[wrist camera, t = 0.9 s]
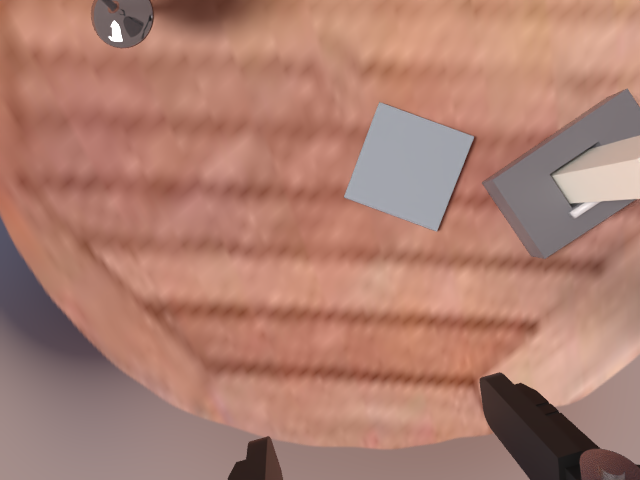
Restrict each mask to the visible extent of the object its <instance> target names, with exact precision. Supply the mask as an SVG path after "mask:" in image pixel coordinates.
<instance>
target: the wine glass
mask: <svg viewBox="0 0 640 480" xmlns="http://www.w3.org/2000/svg"><path fill="white" fill-rule="evenodd" d="M91 20H92V25H93V27H94V30H95V31H96V33H97V35H98V36H99V37H100V38H101V39H102V40H103V41H104V42H105V43H107V44H109V45H111V46H113V47H117V48H128V47H132V46H134V45H137V44H138V43H140V42H141V41H142V40H143V39H144V38H145V37H146V36H147V35H148V33H149V31H150V29H151V26H152V22H153V9H152V5H151V2H150V0H94V1H93V4H92V8H91Z"/></svg>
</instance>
